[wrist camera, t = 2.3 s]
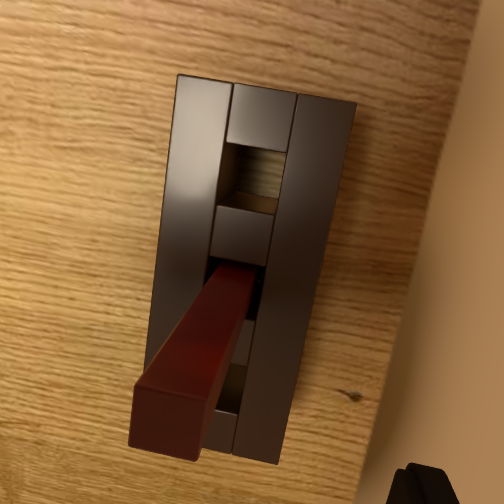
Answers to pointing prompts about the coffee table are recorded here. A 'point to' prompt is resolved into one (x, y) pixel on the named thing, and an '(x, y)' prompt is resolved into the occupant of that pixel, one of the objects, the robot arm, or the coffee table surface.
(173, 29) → the coffee table surface
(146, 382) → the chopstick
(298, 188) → the holder
